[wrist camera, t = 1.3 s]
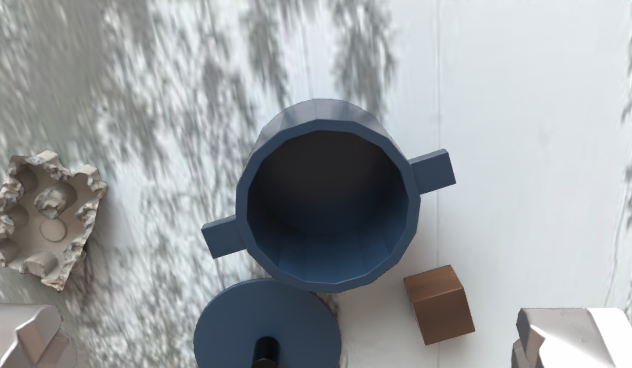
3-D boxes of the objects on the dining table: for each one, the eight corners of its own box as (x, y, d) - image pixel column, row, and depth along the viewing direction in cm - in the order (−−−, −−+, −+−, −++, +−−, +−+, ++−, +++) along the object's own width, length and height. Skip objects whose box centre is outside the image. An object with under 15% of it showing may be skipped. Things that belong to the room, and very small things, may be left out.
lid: (358, 378, 52) (362, 412, 48) (226, 416, 54) (219, 452, 49) (314, 256, 49) (315, 280, 44) (173, 299, 50) (160, 327, 45)
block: (461, 305, 50) (475, 331, 46) (415, 318, 51) (425, 346, 46) (450, 264, 49) (463, 287, 45) (403, 278, 49) (412, 302, 45)
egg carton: (80, 277, 49) (61, 300, 45) (-2, 245, 48) (-29, 266, 44) (119, 174, 46) (102, 189, 42) (33, 138, 45) (7, 149, 41)
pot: (443, 207, 47) (476, 252, 38) (250, 266, 49) (236, 323, 40) (405, 67, 44) (431, 80, 35) (197, 136, 45) (170, 165, 36)
